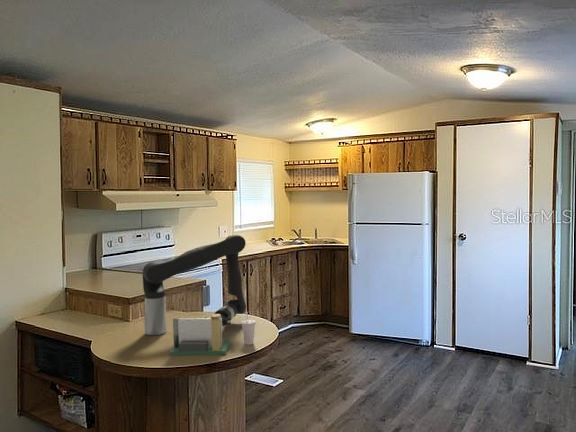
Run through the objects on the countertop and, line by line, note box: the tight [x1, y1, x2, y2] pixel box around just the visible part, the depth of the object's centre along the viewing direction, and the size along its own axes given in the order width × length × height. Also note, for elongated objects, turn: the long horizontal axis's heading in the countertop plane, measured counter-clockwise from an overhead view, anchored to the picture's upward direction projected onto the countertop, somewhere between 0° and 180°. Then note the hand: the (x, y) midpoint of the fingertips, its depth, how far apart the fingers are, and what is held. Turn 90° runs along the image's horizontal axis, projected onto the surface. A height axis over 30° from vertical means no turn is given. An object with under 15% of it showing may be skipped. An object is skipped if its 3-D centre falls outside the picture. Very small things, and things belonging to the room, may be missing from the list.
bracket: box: [169, 313, 232, 356], centre depth 207 cm, size 23×14×16 cm, turn 88°
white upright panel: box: [172, 317, 223, 348], centre depth 204 cm, size 20×2×12 cm, turn 88°
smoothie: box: [240, 311, 257, 346], centre depth 213 cm, size 6×6×14 cm
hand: (210, 326), depth 213 cm, fingers closed
